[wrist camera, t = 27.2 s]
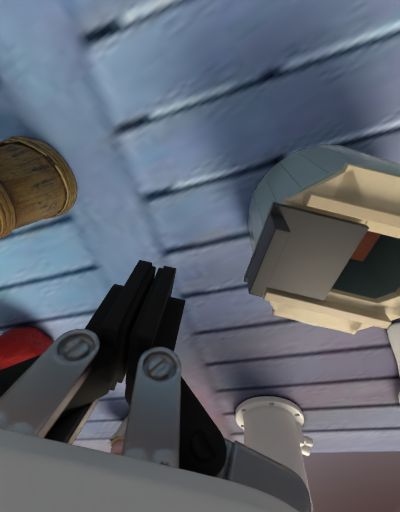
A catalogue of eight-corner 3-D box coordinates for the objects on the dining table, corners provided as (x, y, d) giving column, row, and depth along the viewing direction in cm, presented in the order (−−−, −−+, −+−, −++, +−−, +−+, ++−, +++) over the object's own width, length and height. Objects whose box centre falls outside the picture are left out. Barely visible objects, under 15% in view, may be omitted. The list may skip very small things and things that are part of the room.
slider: (366, 224, 17) (389, 244, 15) (322, 297, 21) (334, 322, 18) (272, 201, 17) (279, 217, 15) (243, 278, 20) (245, 301, 18)
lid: (498, 201, 16) (521, 208, 15) (381, 336, 23) (390, 350, 22) (302, 151, 16) (308, 155, 15) (242, 303, 23) (242, 314, 22)
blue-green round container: (416, 164, 25) (515, 194, 16) (343, 279, 32) (383, 342, 24) (274, 128, 24) (297, 139, 16) (233, 253, 32) (233, 306, 23)
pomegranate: (-5, 325, 44) (-57, 373, 36) (39, 314, 42) (-7, 363, 34) (32, 362, 49) (-7, 412, 41) (73, 354, 46) (40, 406, 38)
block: (324, 193, 26) (343, 210, 22) (362, 203, 27) (389, 222, 22) (306, 229, 29) (320, 251, 24) (342, 238, 29) (363, 261, 24)
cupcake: (157, 412, 53) (143, 471, 44) (160, 435, 58) (147, 492, 49) (114, 407, 54) (92, 464, 45) (120, 430, 58) (101, 485, 50)
